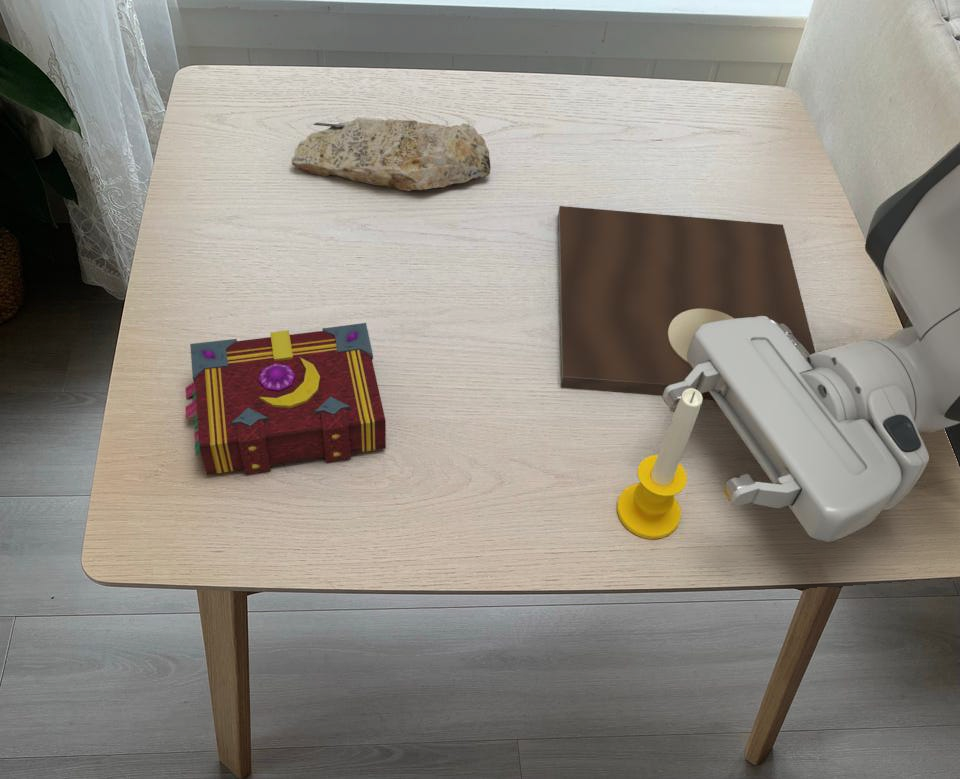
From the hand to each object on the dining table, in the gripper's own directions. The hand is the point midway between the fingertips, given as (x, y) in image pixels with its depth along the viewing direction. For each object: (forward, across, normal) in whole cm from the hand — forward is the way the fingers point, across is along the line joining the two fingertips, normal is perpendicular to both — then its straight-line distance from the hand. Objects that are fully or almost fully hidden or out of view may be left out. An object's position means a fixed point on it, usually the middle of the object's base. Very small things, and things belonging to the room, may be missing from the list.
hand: (697, 445), depth 72 cm
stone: (+8, -49, +8) cm, 51 cm away
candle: (+2, 0, +9) cm, 9 cm away
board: (-12, -21, +8) cm, 25 cm away
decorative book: (+28, -19, +9) cm, 35 cm away
